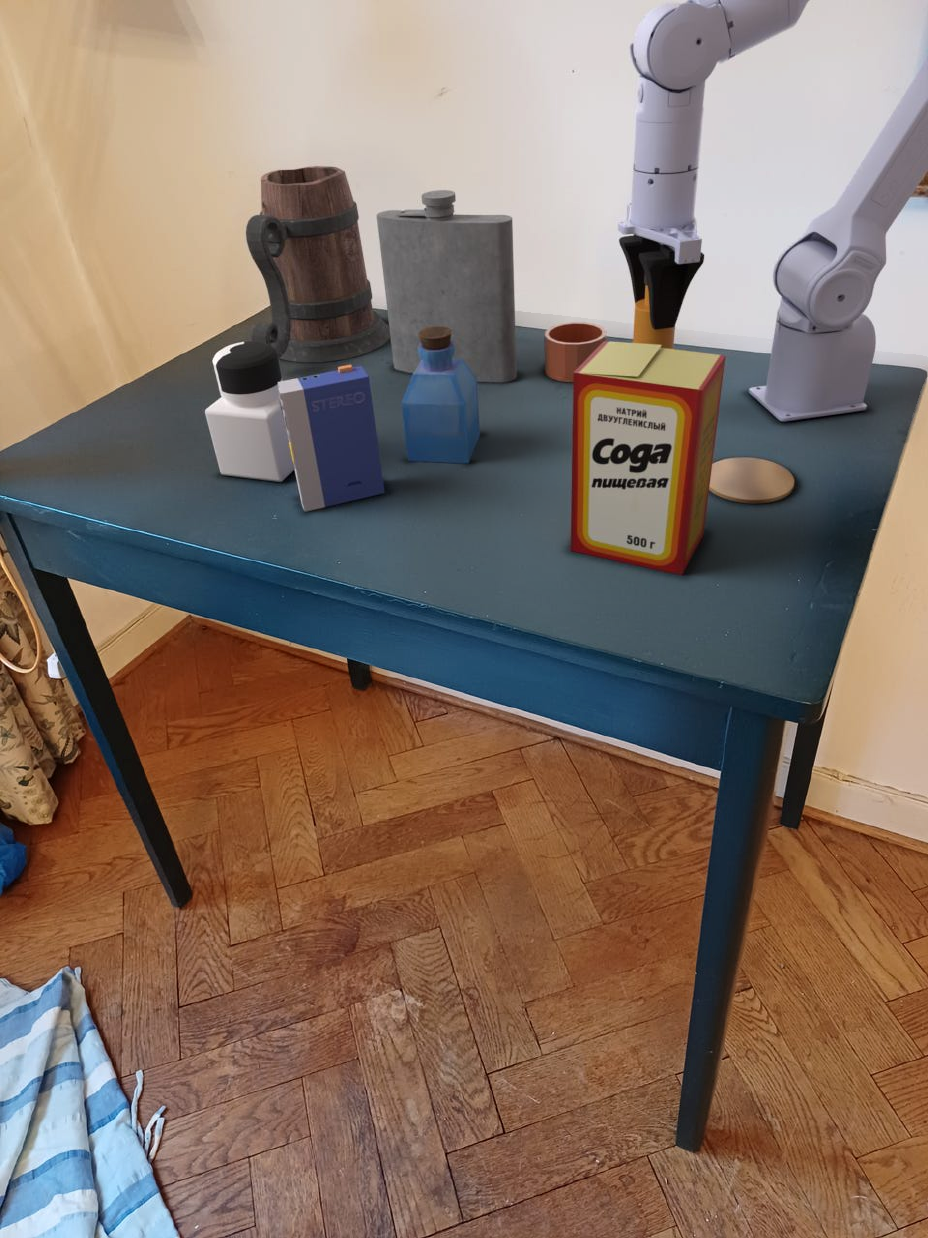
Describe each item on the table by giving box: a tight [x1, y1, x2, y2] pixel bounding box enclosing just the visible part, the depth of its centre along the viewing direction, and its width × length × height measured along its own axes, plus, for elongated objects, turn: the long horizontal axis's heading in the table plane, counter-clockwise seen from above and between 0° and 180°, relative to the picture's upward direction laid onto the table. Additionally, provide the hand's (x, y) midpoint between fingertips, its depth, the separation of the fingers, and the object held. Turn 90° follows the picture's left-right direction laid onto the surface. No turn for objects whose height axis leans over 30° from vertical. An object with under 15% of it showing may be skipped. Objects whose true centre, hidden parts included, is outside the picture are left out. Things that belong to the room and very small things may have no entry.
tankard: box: [245, 165, 391, 363], centre depth 109 cm, size 24×17×20 cm
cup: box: [543, 321, 608, 383], centre depth 103 cm, size 7×7×4 cm
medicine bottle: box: [204, 341, 295, 483], centre depth 87 cm, size 7×7×12 cm
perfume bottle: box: [401, 326, 481, 464], centre depth 87 cm, size 6×6×12 cm
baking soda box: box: [570, 340, 727, 576], centre depth 70 cm, size 10×6×16 cm
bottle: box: [632, 276, 676, 349], centre depth 87 cm, size 4×4×9 cm
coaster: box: [709, 456, 795, 505], centre depth 81 cm, size 8×8×1 cm
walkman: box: [278, 364, 386, 512], centre depth 80 cm, size 8×3×12 cm, turn 110°
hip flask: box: [376, 189, 518, 384], centre depth 100 cm, size 16×4×20 cm, turn 66°
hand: (655, 319), depth 87 cm, fingers closed on bottle, 4 cm apart
